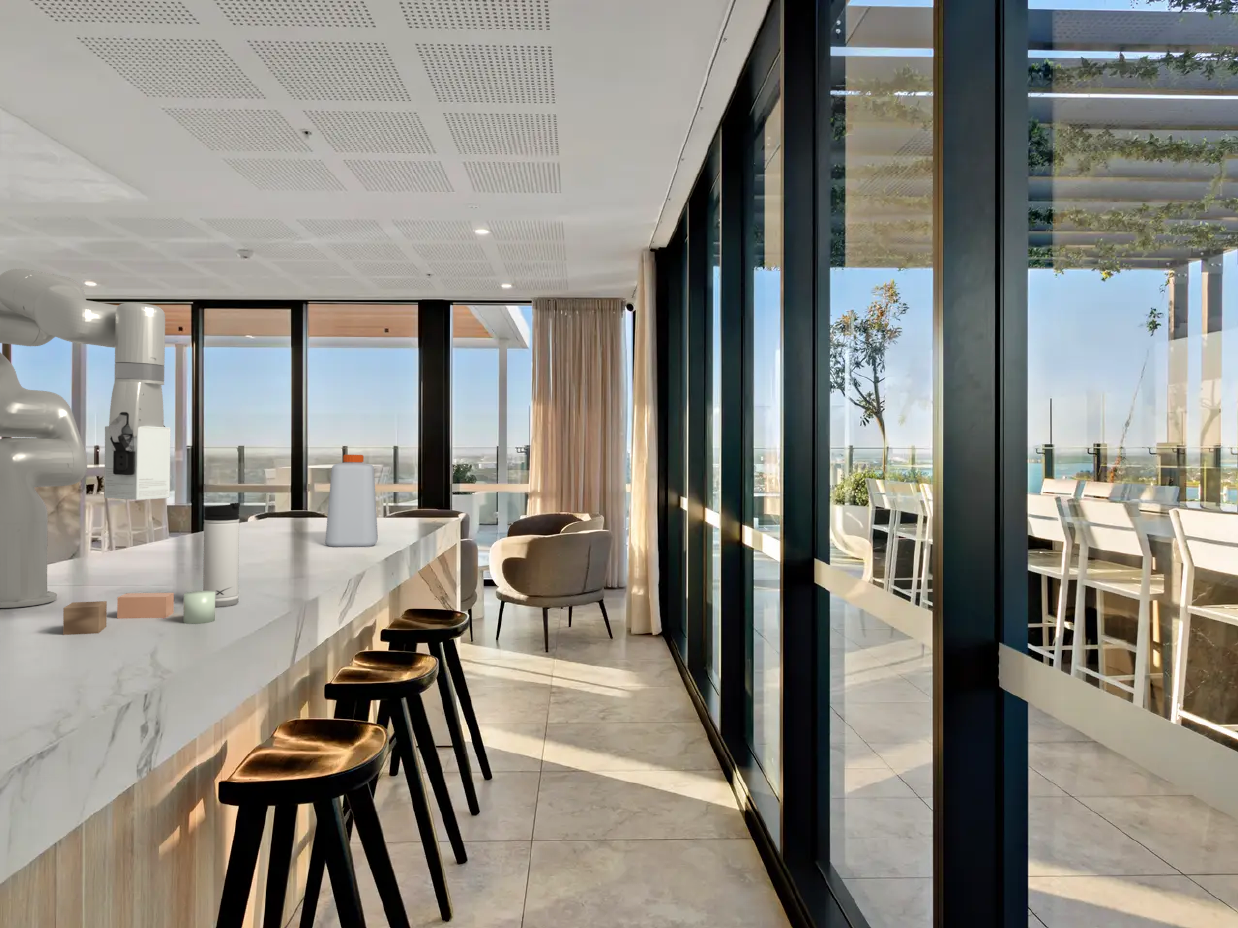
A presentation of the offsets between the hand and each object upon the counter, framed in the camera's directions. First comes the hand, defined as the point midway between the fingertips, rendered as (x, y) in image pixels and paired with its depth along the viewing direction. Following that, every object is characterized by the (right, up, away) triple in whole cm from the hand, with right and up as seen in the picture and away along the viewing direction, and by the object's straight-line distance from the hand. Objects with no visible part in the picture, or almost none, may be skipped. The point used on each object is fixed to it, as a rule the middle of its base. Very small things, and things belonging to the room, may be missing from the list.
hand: (138, 473), depth 144 cm
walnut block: (-5, -26, -7) cm, 28 cm away
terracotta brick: (-2, -26, +5) cm, 27 cm away
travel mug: (+6, -26, +17) cm, 32 cm away
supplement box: (0, -5, 0) cm, 5 cm away
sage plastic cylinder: (+10, -26, +2) cm, 28 cm away
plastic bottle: (+1, -24, +113) cm, 115 cm away
